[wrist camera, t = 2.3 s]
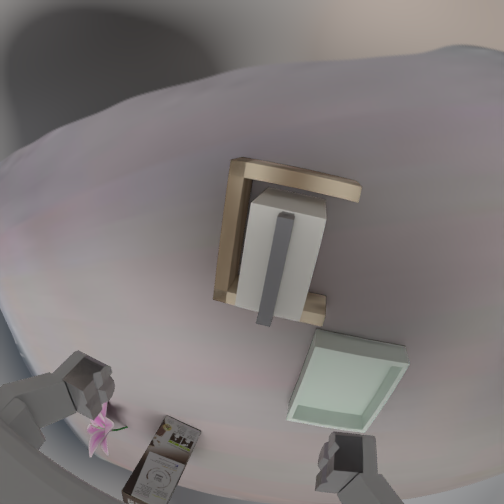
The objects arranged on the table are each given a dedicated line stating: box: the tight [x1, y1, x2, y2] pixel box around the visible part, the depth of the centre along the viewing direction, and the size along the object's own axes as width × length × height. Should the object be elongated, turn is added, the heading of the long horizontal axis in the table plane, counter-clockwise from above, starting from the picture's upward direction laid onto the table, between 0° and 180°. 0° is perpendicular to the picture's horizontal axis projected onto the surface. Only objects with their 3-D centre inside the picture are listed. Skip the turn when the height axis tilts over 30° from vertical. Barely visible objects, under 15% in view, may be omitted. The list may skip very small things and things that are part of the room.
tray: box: [286, 329, 410, 433], centre depth 30 cm, size 10×12×3 cm
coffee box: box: [122, 416, 201, 504], centre depth 36 cm, size 9×6×16 cm
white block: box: [235, 187, 327, 327], centre depth 23 cm, size 5×8×9 cm, turn 171°
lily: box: [87, 402, 128, 458], centre depth 43 cm, size 12×12×10 cm
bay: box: [213, 157, 362, 327], centre depth 26 cm, size 10×12×4 cm
